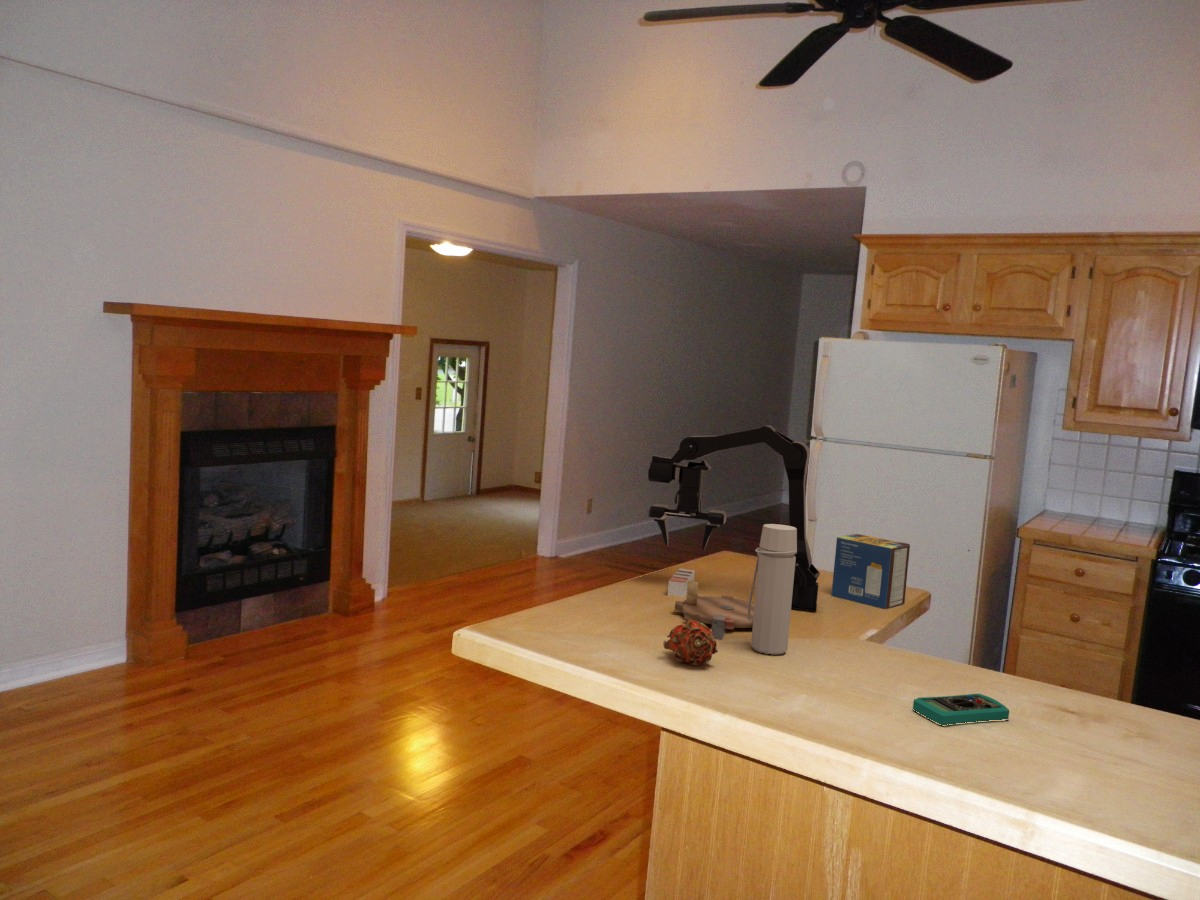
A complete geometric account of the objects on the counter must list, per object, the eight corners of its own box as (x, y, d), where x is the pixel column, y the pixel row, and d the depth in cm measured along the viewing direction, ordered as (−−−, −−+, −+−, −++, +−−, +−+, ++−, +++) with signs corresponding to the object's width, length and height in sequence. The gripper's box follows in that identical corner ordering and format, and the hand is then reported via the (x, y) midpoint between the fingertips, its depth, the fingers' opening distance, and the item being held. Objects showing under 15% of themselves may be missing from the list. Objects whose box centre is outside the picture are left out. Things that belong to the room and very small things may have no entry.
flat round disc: (726, 597, 217) (729, 570, 217) (801, 622, 199) (804, 593, 198) (653, 606, 203) (655, 578, 203) (726, 635, 185) (729, 604, 184)
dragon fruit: (706, 682, 163) (669, 670, 173) (736, 650, 167) (698, 641, 177) (683, 646, 161) (647, 636, 171) (714, 615, 164) (677, 607, 175)
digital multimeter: (1011, 723, 150) (1013, 706, 150) (940, 729, 145) (942, 712, 145) (979, 707, 157) (981, 690, 157) (910, 712, 152) (911, 695, 152)
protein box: (850, 590, 239) (855, 533, 238) (905, 604, 228) (911, 543, 227) (829, 595, 232) (835, 536, 230) (885, 609, 221) (892, 547, 220)
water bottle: (795, 651, 180) (806, 528, 178) (773, 659, 174) (785, 531, 172) (756, 640, 186) (766, 521, 184) (734, 646, 181) (745, 523, 178)
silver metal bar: (693, 585, 233) (694, 569, 233) (683, 599, 218) (685, 582, 217) (678, 583, 234) (679, 567, 234) (667, 597, 219) (668, 580, 218)
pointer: (725, 633, 190) (726, 615, 189) (722, 639, 185) (724, 620, 185) (713, 631, 190) (715, 613, 190) (710, 637, 186) (712, 618, 185)
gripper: (731, 486, 229) (726, 547, 230) (659, 479, 234) (654, 538, 235) (725, 491, 218) (720, 555, 220) (650, 484, 223) (645, 546, 224)
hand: (684, 548), depth 225 cm, fingers open, 9 cm apart
